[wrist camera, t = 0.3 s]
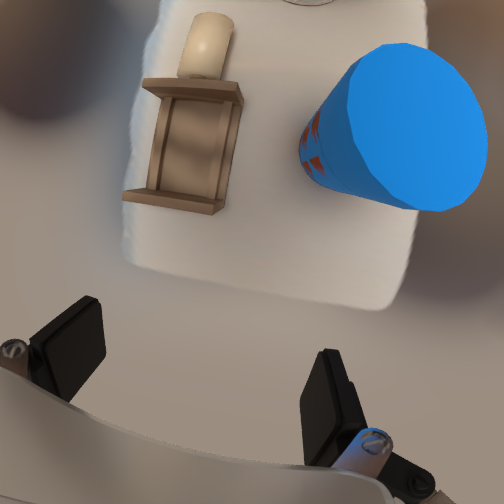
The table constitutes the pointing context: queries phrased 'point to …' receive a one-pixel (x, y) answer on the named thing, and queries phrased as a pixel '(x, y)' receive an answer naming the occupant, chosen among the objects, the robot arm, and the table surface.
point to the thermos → (398, 132)
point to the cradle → (191, 144)
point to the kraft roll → (206, 47)
